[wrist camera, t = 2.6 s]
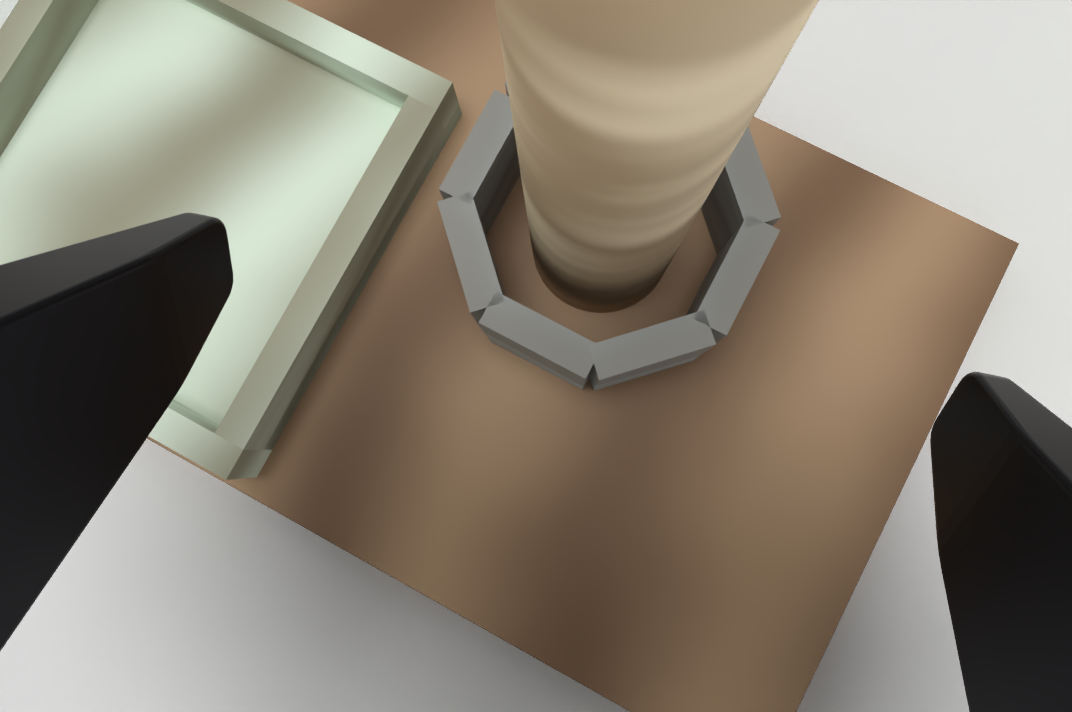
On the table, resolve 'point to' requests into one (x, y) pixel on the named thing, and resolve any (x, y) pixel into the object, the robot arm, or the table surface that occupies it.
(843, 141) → the table surface
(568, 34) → the dowel
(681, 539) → the stand
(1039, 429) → the robot arm
